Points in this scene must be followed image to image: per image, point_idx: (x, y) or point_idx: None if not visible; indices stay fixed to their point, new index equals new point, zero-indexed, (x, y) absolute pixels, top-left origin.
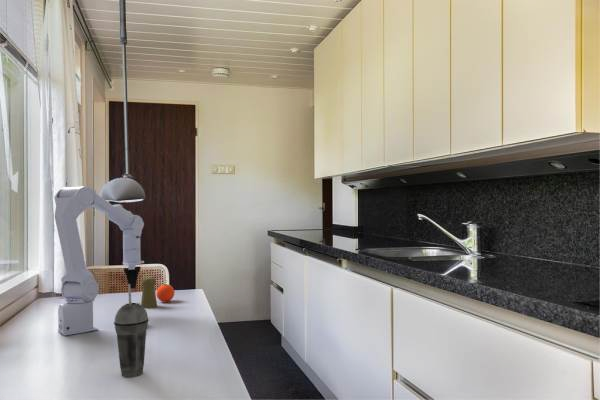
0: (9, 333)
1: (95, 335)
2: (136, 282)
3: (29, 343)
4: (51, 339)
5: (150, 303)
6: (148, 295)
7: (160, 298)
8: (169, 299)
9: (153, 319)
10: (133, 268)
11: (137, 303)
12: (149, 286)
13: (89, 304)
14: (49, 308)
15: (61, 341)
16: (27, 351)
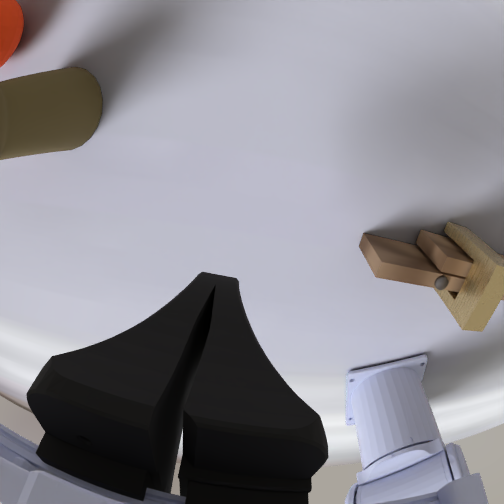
0: None
1: (466, 354)
2: (240, 304)
3: None
4: None
5: (87, 101)
6: (52, 116)
7: (9, 56)
8: (22, 15)
9: (416, 147)
10: (473, 487)
11: (500, 279)
12: (8, 116)
13: (439, 435)
14: None
15: (445, 404)
16: (453, 429)
